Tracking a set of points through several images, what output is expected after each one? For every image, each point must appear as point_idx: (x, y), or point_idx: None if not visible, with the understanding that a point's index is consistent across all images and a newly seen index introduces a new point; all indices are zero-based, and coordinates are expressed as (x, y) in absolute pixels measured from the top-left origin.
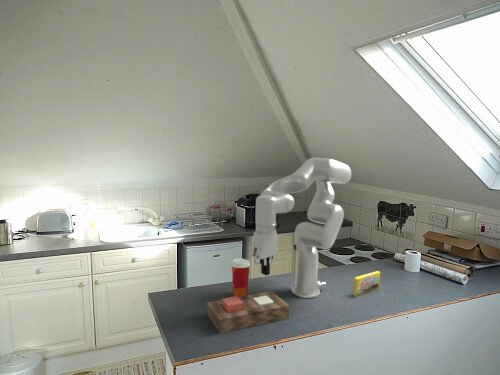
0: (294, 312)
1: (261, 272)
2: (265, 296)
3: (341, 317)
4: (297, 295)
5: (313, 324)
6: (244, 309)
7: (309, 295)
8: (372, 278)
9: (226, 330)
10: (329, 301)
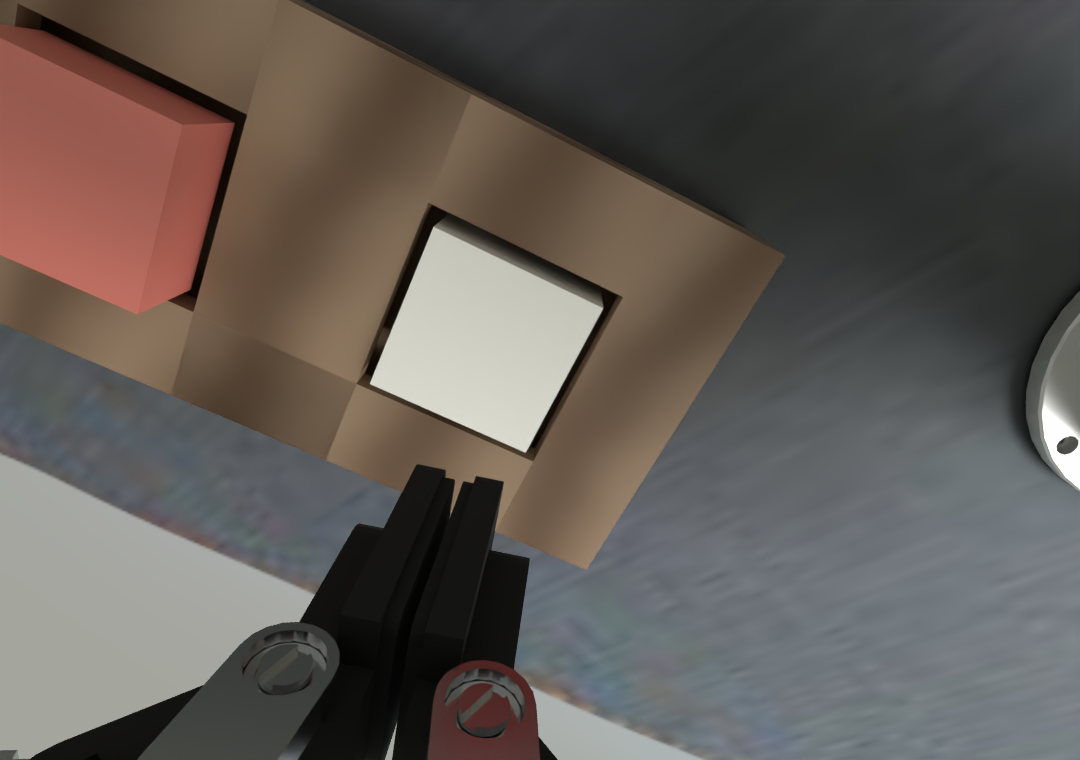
0: (697, 489)
1: (415, 474)
2: (572, 314)
3: (832, 738)
4: (1036, 362)
5: (619, 655)
6: (196, 305)
7: (1067, 472)
8: None
9: None
10: (1063, 602)
